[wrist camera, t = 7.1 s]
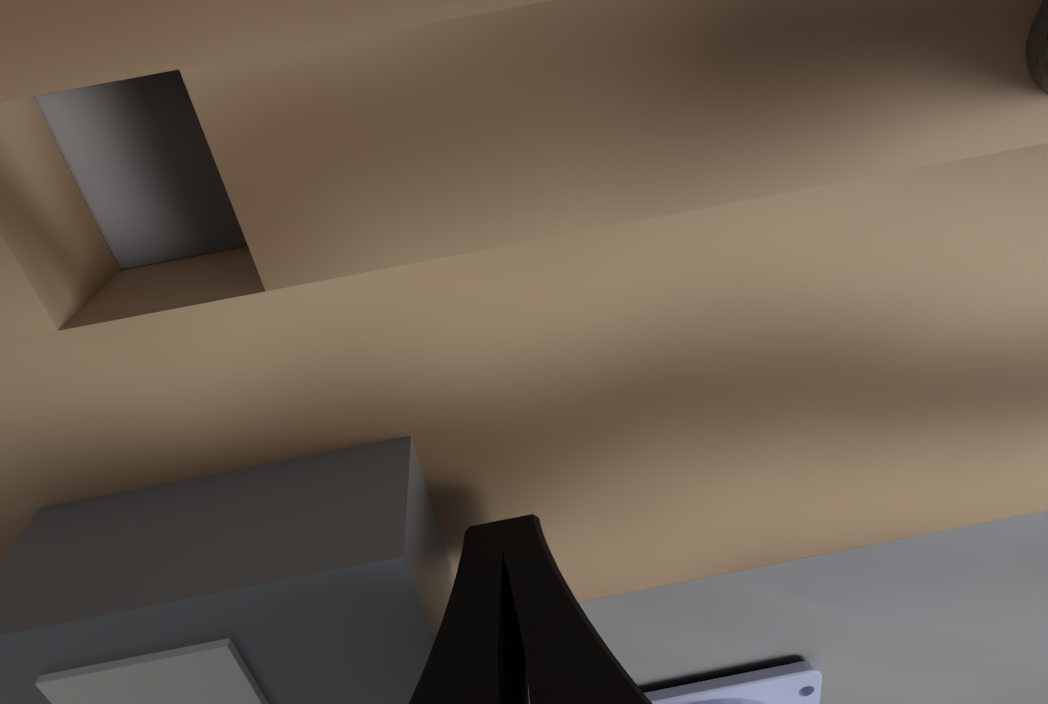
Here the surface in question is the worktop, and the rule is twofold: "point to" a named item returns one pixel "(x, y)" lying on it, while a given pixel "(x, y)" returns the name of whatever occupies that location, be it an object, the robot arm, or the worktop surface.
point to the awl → (1038, 48)
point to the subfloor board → (556, 268)
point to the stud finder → (231, 588)
